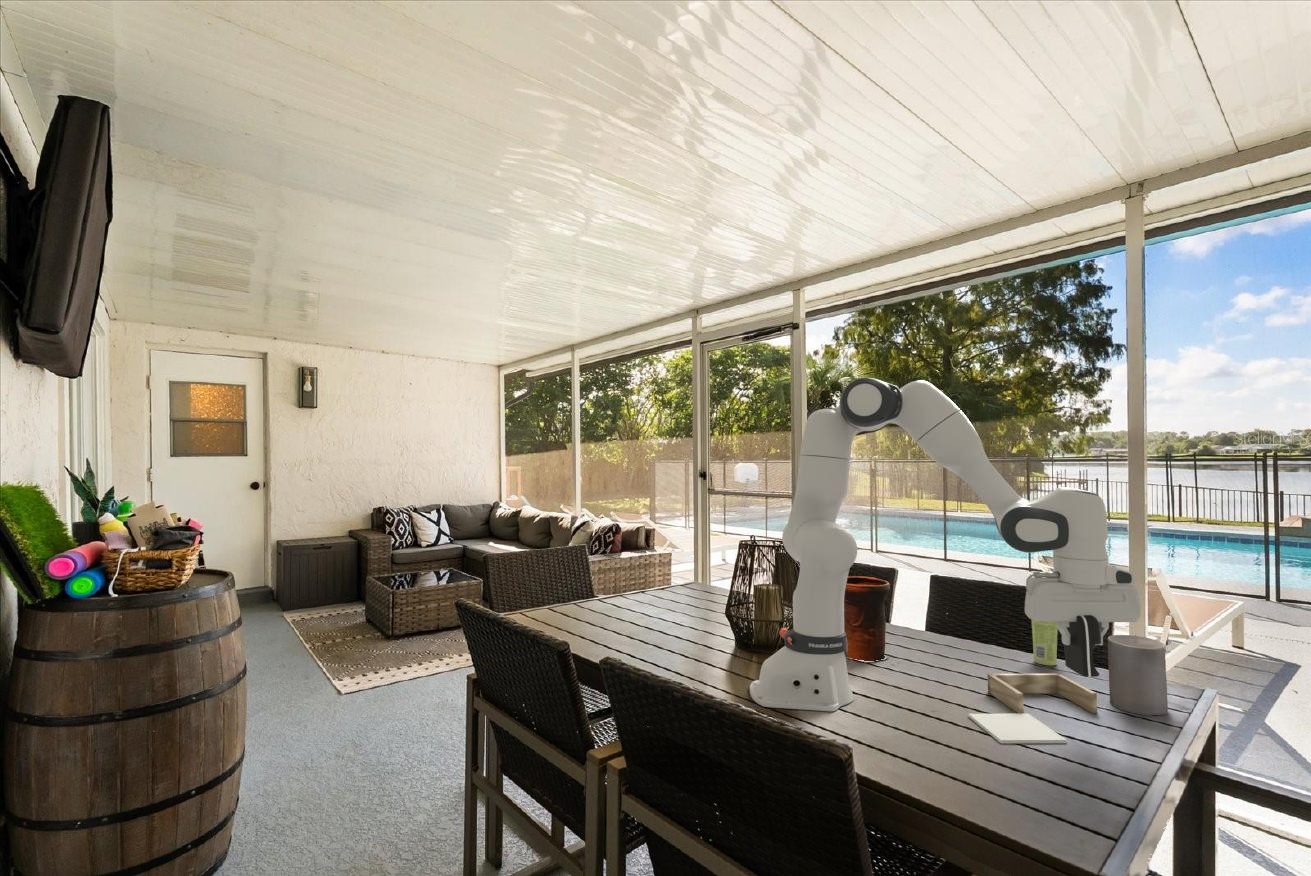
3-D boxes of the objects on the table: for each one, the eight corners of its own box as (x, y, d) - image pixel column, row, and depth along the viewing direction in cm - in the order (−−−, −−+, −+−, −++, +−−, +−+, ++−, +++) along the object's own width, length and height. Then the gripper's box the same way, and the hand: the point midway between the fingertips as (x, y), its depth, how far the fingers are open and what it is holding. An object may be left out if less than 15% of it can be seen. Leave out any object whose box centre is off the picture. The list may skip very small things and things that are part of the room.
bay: (1018, 713, 127) (1018, 693, 127) (987, 691, 139) (987, 673, 139) (1097, 713, 127) (1096, 693, 127) (1059, 691, 139) (1059, 673, 139)
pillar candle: (1114, 694, 137) (1111, 626, 138) (1171, 706, 130) (1168, 634, 131) (1105, 707, 130) (1102, 635, 131) (1165, 721, 123) (1161, 644, 124)
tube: (1047, 659, 162) (1044, 583, 163) (1063, 665, 157) (1061, 587, 158) (1028, 660, 161) (1026, 584, 161) (1045, 667, 156) (1042, 588, 156)
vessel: (830, 645, 175) (830, 574, 176) (882, 648, 173) (883, 576, 174) (837, 662, 161) (838, 584, 162) (895, 665, 159) (895, 586, 160)
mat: (1000, 743, 114) (1000, 740, 114) (968, 716, 126) (968, 713, 126) (1066, 743, 114) (1066, 739, 114) (1027, 716, 126) (1027, 713, 126)
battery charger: (1107, 678, 115) (1102, 616, 116) (1085, 678, 116) (1081, 616, 116) (1084, 666, 122) (1080, 607, 123) (1064, 666, 123) (1060, 608, 123)
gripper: (1036, 574, 117) (1037, 649, 116) (1145, 575, 117) (1147, 649, 116) (1017, 569, 123) (1018, 639, 123) (1121, 569, 123) (1122, 640, 122)
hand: (1082, 644), depth 119 cm, fingers closed on battery charger, 4 cm apart
